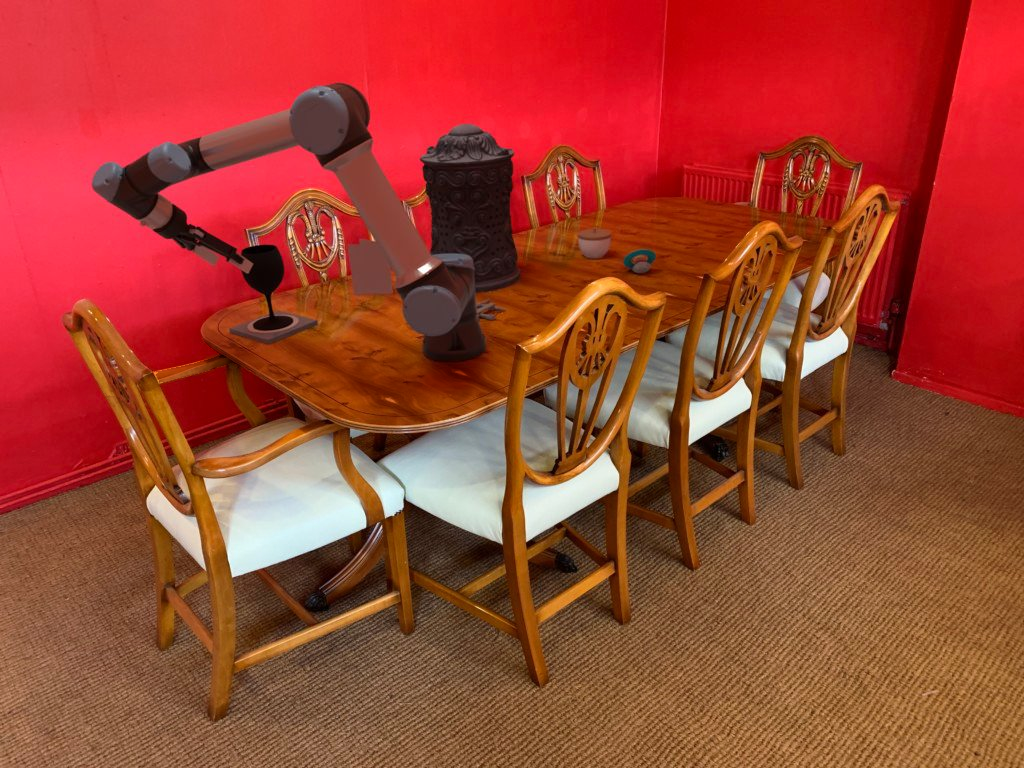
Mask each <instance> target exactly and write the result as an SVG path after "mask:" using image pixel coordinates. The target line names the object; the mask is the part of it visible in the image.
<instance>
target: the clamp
mask: <svg viewBox="0 0 1024 768" xmlns="http://www.w3.org/2000/svg"><path fill="white" fill-rule="evenodd" d="M490 300H491V299H490V298H486V300H484V301H482V302H480V301H479V302H476V311H477V319H478V321H479V322H480V318H483V319H486V320H488V321H489V320H490V321H493V320H495V319H496V315H495V314H492V313H488V314H487V313H482V312H485V311H487V310H488V309H490V310H489V311H495V310H497V311H505V308H504V307H500V306H496V303H494V302H490ZM487 302H488V303H487ZM489 302H490V303H489ZM485 303H487V304H485ZM494 309H495V310H494ZM479 317H480V318H479Z"/></svg>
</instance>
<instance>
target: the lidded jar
mask: <svg viewBox="0 0 1024 768" xmlns="http://www.w3.org/2000/svg"><path fill="white" fill-rule="evenodd" d="M577 237H578V238H577V239H578V240H577V243H578V248H579V250H580V252H581V253H582V254H583V255H584V257H585V258H587V259H592V260H593V259H595V260H596V259H602V258H603V257H605V255H606V254H607V253H608V252H609V249H610V247H611V238H612V232H611V231H610V230H608V229H604V228H603V229H602V228H597V227H592V228H589V229H583V230H580V231H578V233H577Z"/></svg>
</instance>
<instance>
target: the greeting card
mask: <svg viewBox="0 0 1024 768" xmlns="http://www.w3.org/2000/svg"><path fill="white" fill-rule="evenodd" d="M358 240H359V241H358V242H359V244H347V252H348V258H349V259H348V260H349V265H350V273H351V280H352V287H353V295H354V296H364V295H392V294H394V291H393V290H394V289H393V283H392V274H391V266H390V265H389V263H388V261H387V260H386V258H385V256H384V255H383V253H382V251H381V250H380V248H379V246H378V245H377V243H376V241H375V240H370V239H365V238H364V239H363V238H359V239H358Z"/></svg>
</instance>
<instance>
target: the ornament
mask: <svg viewBox="0 0 1024 768" xmlns="http://www.w3.org/2000/svg"><path fill="white" fill-rule="evenodd" d="M632 259H633V260H632ZM656 259H657V254H656V252H655V251H653V250H651V249H644V248H641V249H637V250H634V251H631V252H629V253H628V254H627V255H626V256H625V257H624V258H623V261H622V264H623V265H624V266H625V268H627V269H630V270H632V271H633V272H634V273H636V274H645V273H646V272H647V273H648V271H650V269H651V266H652V264H653V263H654V262H655V260H656ZM632 261H633V262H632Z"/></svg>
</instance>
